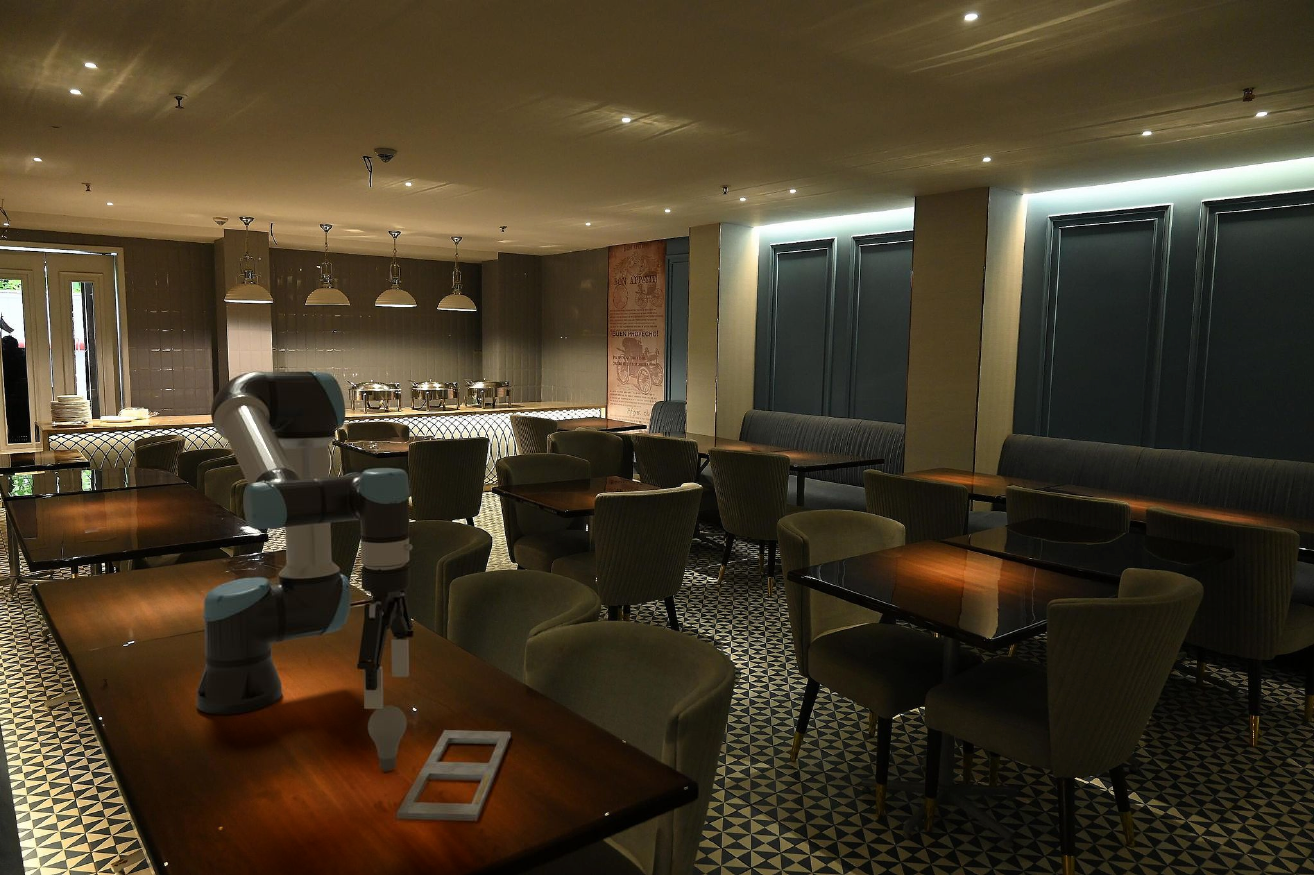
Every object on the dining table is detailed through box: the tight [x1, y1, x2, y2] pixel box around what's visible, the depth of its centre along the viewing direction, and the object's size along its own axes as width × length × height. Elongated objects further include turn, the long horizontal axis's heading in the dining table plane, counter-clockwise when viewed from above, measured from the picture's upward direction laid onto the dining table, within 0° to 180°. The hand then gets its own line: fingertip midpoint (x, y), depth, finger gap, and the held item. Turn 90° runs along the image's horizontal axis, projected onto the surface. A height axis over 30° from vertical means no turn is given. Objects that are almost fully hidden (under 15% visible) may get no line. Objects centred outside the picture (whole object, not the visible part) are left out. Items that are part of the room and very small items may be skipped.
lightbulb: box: [367, 705, 408, 772], centre depth 142 cm, size 6×6×11 cm
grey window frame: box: [396, 729, 511, 822], centre depth 142 cm, size 12×28×1 cm, turn 0°
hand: (387, 691), depth 141 cm, fingers open, 13 cm apart
